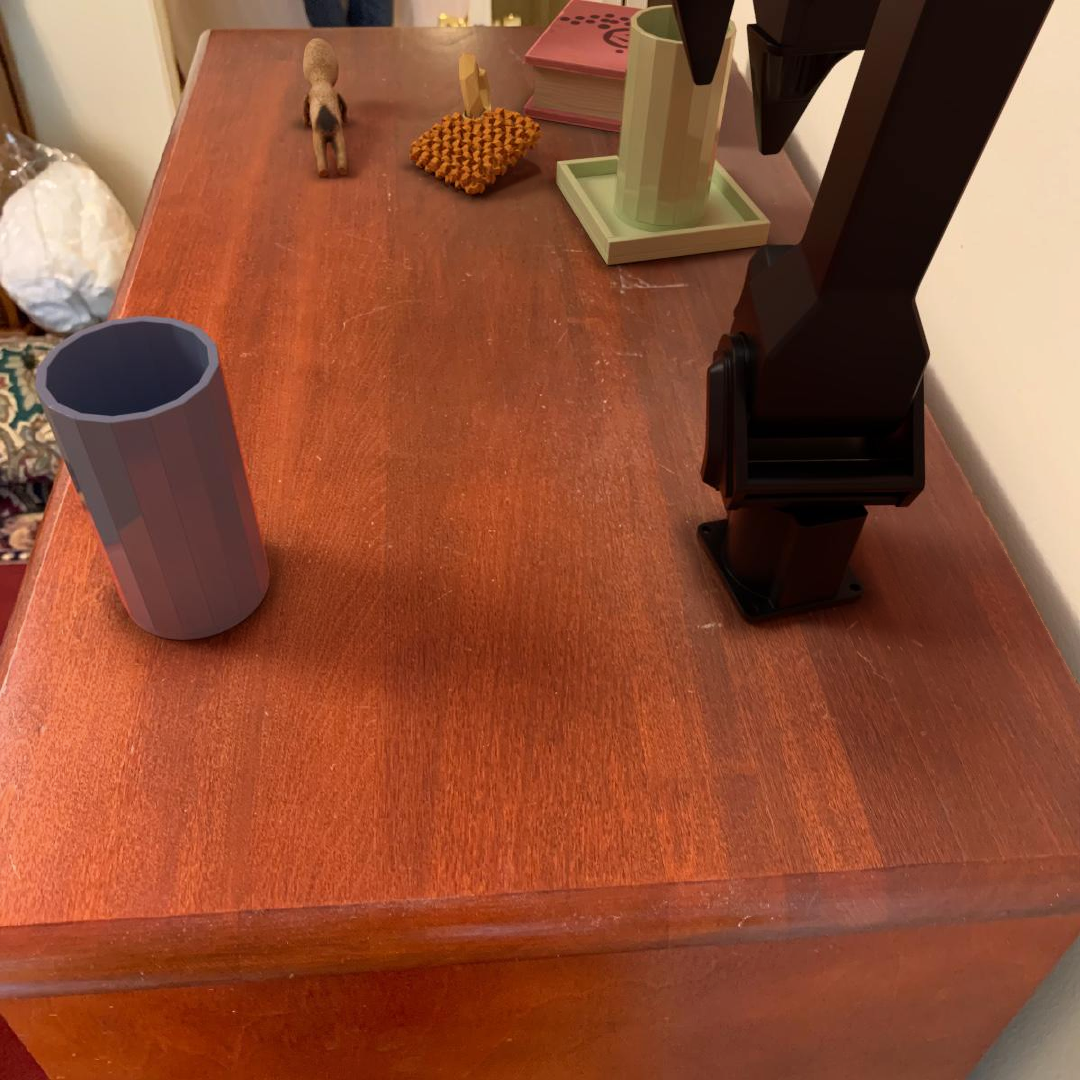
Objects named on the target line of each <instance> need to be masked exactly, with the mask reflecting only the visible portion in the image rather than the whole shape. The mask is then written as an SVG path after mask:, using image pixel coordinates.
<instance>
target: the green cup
mask: <svg viewBox="0 0 1080 1080" xmlns="http://www.w3.org/2000/svg"><path fill="white" fill-rule="evenodd" d="M642 9H643V10H640V11H637V12H636V13H635V14H634V15H633V16H632V17H631V19H630V29H629V40H628V50H627V61H626V71H625V82H624V92H623V103H622V113H621V124H620V132H619V135H618V146H617V166H616V176H615V187H614V203H613V208H614V211H615V214H616V215H617V216H618V217H619V218H620V219H621V220H622V221H624V222H625V223H627V224H628V225H631V226H633V227H635V228H638V229H642V230H645V231H650V232H663V231H671V230H680V229H688V228H693V227H695V226H697V225H698V224H699V223H701V221H702V220H703V219H704V216H705V211H706V209H707V204H708V198H709V192H710V186H711V180H712V174H713V168H714V163H715V159H716V155H717V150H718V145H719V139H720V133H721V127H722V126H721V125H722V121H723V114H724V108H725V102H726V96H727V91H728V85H729V79H730V73H731V66H732V61H733V55H734V48H735V44H736V36H737V31H738V30H737V27H736V24H735V22H734V21H733V19H730V21H729V25H728V29H727V33H726V37H725V41H724V45H723V49H722V53H721V56H720V60H719V63H718V66H717V69H716V72H715V76H714V79H713V81H712V83H711V84H709V85H700V86H697V85H696V84H695V83H694V82H693V80H692V76H691V72H690V69H689V65H688V61H687V58H686V54H685V50H684V47H683V43H682V39H681V36H680V32H679V28H678V24H677V21H676V18H675V14H674V11H673V7H672V4H664V5H663V4H662V5H653V6H649V7H646V8H642Z"/></svg>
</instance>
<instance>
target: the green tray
mask: <svg viewBox="0 0 1080 1080" xmlns="http://www.w3.org/2000/svg"><path fill="white" fill-rule="evenodd" d="M617 155H618V154H617ZM617 155H609V156H608V155H606V156H597V157H588V158H586V157H585V158H577V159H568V160H558V161H556V175H555V176H556V178H555V180H556V181H555V183H556V186H557V188H558V189H559V191H560V192H561V194H562V195H563V196H564V199H565V200H566V201H567V204H568V205H569V206H570V208H571V210H572V211H573V212H574V214H575V216H576V218H577V219H578V221H579V222H580V224H581V225H582V228H583V229H584V230H585V232H586V233H587V235H588V237H589V239H590V240H591V242H592V243H593V245H594V247H595V248H596V249H597V251H598V252H599V254H600V256H601V258H602V259H603V261H604V262H605V264H606V265H607V266H612V265H619V264H627V263H628V264H629V263H637V262H644V261H650V260H660V259H668V258H675V257H682V256H683V257H684V256H691V255H692V256H693V255H698V254H707V253H713V252H714V253H715V252H723V251H731V250H738V249H745V248H754V247H760V246H761V245H767V244H768V238H769V233H770V228H771V225H772V222H771V221H770V220H769V218H768V217H767V216H766V215H765V214H764V213H763V212H762V211H761V209H760V208H759V207H758V206H757V205H756V203H755V202H754V201H753V200H752V199H751V198H750V197H749V196H748V195H747V193H746V192H745V191H744V189H742V188H741V186H739V184H738V183H737V181H736V180H735V179H734V178H732V176H731V175H730V174H729V173H728V171H727V170H726V169H725V168H724V167H723V166H722V165H721V163H720V162H719V161H718V160H717V159H716V158H715V163H714V168H713V174H712V180H711V186H710V192H709V198H708V204H707V209H706V211H705V216H704V219H703V220H702V221H701V223H699V224H698V225H697V226H695V227H693V228H688V229H680V230H671V231H663V232H650V231H645V230H642V229H638V228H635V227H633V226H631V225H628V224H627V223H625V222H624V221H622V220H621V219H620V218H619V217H618V216H617V215H616V214H615V211H614V208H613V203H614V187H615V176H616V166H617Z"/></svg>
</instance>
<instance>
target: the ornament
mask: <svg viewBox="0 0 1080 1080" xmlns="http://www.w3.org/2000/svg"><path fill="white" fill-rule="evenodd" d="M458 71H459V72H458V73H459V74H458V76H459V77H458V78H459V84H460V89H461V95H462V100H463V105H464V111H463V113H462V115H461V114H460V113H458V112H456V111H455V112H454V113H453V114H452V116H449V114H446V115H445V116H444V117H442V119H441V124H440V123H438V122H435V124H434V125H433V127H430V128H429V131H425V132H424V133H423V134H422V135H421V136H420V137H418V140H415V141H412V142H411V145H410V147H411V150H409V152H408V153H409V159H410V161H415V162H416V163H415V166H416V167H417V168H421V169H424V171H425V172H427V173H428V174H433V173H434V172H435V173H434V175H435V178H436V179H439V180H442V179H443V178H444V179H445V184H449V185H451V184H453V183H454V186H455V189H457V190H458V189H459V190H461V189H464V190H465V192H466V194H468V195H475V194H478V193H480V194H483V192H484V191H485V189H486V186H485V185H486V184H489V185H493V184H494V183H495V181H496V179H497V178H496V176H498V175H501V176H504V174H506V172H507V169H508V168H507V167H508V166H510V167H512V168H513V167H514V166H515V165H516V164H517V161H518V159H522V158H525V156H526V155H527V154H528V149H530V150H532V151H534V150H535V149H536V148H537V146H538V140H539V139H541V138H542V137H543V133H542V131H541V127H540V125H539V123H538V122H535V121H534V120H533V118H531V117H527V116H523V115H522V114H520V113H519V112H518V111H515V110H508V109H505V108H504V107H499V106H498V107H497V106H496V107H495V110H493V105H492V94H491V89H490V83H489V79H488V74H487V70H486V69H483V68H480V67H479V65H478V62H477V54H474V53H468V52H463V53H462V55H461V56H460V58H459V59H458Z"/></svg>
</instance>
